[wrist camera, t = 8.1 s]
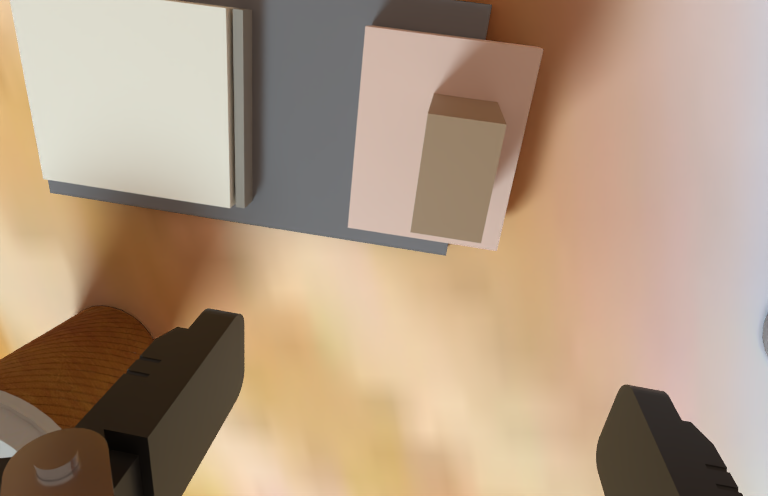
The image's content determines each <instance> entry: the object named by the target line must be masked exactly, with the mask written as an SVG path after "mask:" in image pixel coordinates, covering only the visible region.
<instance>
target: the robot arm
mask: <svg viewBox="0 0 768 496" xmlns="http://www.w3.org/2000/svg"><path fill="white" fill-rule="evenodd" d="M762 338H763V343H764V348H765V352H766V354H767V355H768V314H767V316H766V319H765V322H764V327H763V336H762ZM243 378H244V318H243V316H242V315H241V314H236V313H231V312H225V311H220V310H214V309H205V310H204V311H203V312H202V313H201V314H200V316H199V317H198V318H197V319H196V320H195V322H194V323H193V324H192V325H191V326H190V327H189V329H186V328H180V327H176V328H175V329H173V330H171V331H169V332H168V333H166V334H164V335H162V336H160V337H159V338H157V339H155V340H154V341H153V342H152V343H151V344H150V345H149V347H148V348H147V349H146V350H145V351H144V352H143V353H142V354H141V355H140V358H139V360H138V359H137V360H136V361H135V362H134V363H133V364H132V365H131V366H130V367H129V368H128V369H127V373H126V374H123V375H122V376H121V377H120V378H119V379H118V380H117V381H116V382H115V384H114V385H113V386H112V387H111V388H110V389H109V390H108V391H107V392H106V393H105V394H104V395H103V397H102V398H101V399H100V400H99V401H98V402H97V403H96V404H95V405H94V406H93V407H92V409H91V410H90V411H89V412H88V413H87V414H86V415H85V416H84V417H83V418H82V419H81V420H80V422H79V423H78V424H77V425H76V426H75V427H74V428H67V429H61V430H57V431H53V432H50V433H47V434H45V435H42V436H40V437H38V438H36V439H34V440H32V441H31V442H29V443H28V444H26V445H25V446H23V447H22V448H21V449H20V450H18V451H17V452H16V453H15V454H14V455H13V456H12V457H6V458H0V496H182V495H183V493H184V491H185V489H186V488H187V486H188V484H189V482H190V481H191V479H192V477H193V475H194V474H195V472H196V470H197V468H198V467H199V465H200V463H201V461H202V460H203V458H204V456H205V454H206V453H207V451H208V449H209V447H210V446H211V444H212V442H213V440H214V439H215V437H216V435H217V433H218V432H219V430H220V428H221V426H222V425H223V423H224V421H225V419H226V418H227V416H228V414H229V412H230V411H231V409H232V407H233V405H234V404H235V402H236V400H237V398H238V396H239V393H240V390H241V387H242V383H243ZM596 463H597V470H598V474H599V477H600V480H601V484H602V487H603V491H604V494H605V496H743V495H742V493H739V492H738V486H737V485H736V483H735V481H734V479H733V478H732V476H731V474H730V473H728V472H727V467H726V466H725V464H724V462H723V460H722V459H721V457H720V455H719V453H718V452H717V450H716V448H715V446H714V445H713V444H712V443H711V442H710V441H709V440H708V439H707V438H706V437H705V436H704V435H703V434H702V433H701V432H700V431H699V430H698V429H697V428H696V427H695V426H694V425H693V424H692V423H691V422H687V421H682V420H681V418H680V416H679V414H678V412H677V411H676V409H675V407H674V405H673V403H672V401H671V399H670V398H669V396H668V395H667V394H666V393H665V392H664V391H659V390H653V389H648V388H642V387H636V386H631V385H623V386H622V387H621V388H620V389H619V391H618V393H617V396H616V398H615V401H614V403H613V405H612V408H611V410H610V413H609V415H608V418H607V420H606V422H605V425H604V427H603V430H602V432H601V435H600V437H599V440H598V444H597V451H596Z"/></svg>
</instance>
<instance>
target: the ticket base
mask: <svg viewBox="0 0 768 496" xmlns="http://www.w3.org/2000/svg"><path fill="white" fill-rule="evenodd" d="M10 4H11V9H12V14H13V20H14V25H15V30H16V35H17V41H18V46H19V51H20V57H21V62H22V67H23V73H24V78H25V83H26V89H27V94H28V99H29V105H30V110H31V115H32V121H33V126H34V131H35V137H36V142H37V147H38V153H39V158H40V163H41V168H42V174H43V179H46V180H48V182H49V188H50V193H55V194H62V195H68V196H74V197H80V198H87V199H93V200H99V201H106V202H112V203H118V204H125V205H131V206H137V207H143V208H150V209H156V210H162V211H169V212H175V213H181V214H187V215H194V216H200V217H206V218H213V219H219V220H225V221H232V222H238V223H244V224H250V225H257V226H263V227H269V228H276V229H282V230H288V231H294V232H301V233H307V234H313V235H320V236H326V237H332V238H339V239H345V240H351V241H357V242H364V243H370V244H376V245H383V246H389V247H395V248H402V249H408V250H414V251H420V252H427V253H433V254H439V255H446V252H447V246H448V243H443V242H436V241H430V240H424V239H417V238H411V237H404V236H398V235H392V234H385V233H379V232H373V231H366V230H360V229H354V228H348V219H349V207H350V196H351V184H352V173H353V161H354V150H355V139H356V127H357V116H358V104H359V93H360V82H361V70H362V59H363V47H364V36H365V26H369V25H373V26H381V27H389V28H397V29H404V30H412V31H420V32H428V33H436V34H443V35H451V36H459V37H467V38H475V39H482V40H486V35H487V29H488V24H489V18H490V13H491V7H492V5H489V4H481V3H473V2H465V1H456V0H10Z"/></svg>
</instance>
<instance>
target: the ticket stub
mask: <svg viewBox="0 0 768 496" xmlns="http://www.w3.org/2000/svg"><path fill="white" fill-rule="evenodd" d="M543 50H544V49H542V48H540V47H537V46H529V45H521V44H514V43H506V42H498V41H490V40H482V39H475V38H467V37H459V36H451V35H443V34H436V33H428V32H420V31H412V30H404V29H397V28H389V27H381V26H373V25H369V26H365V36H364V47H363V59H362V70H361V82H360V93H359V104H358V116H357V127H356V139H355V150H354V161H353V173H352V184H351V196H350V207H349V219H348V228H354V229H360V230H366V231H373V232H379V233H385V234H392V235H398V236H404V237H411V238H417V239H424V240H430V241H436V242H443V243H449V244H455V245H462V246H468V247H475V248H481V249H487V250H494V251H497V248H498V244H499V239H500V235H501V231H502V226H503V222H504V218H505V213H506V209H507V205H508V200H509V196H510V192H511V187H512V183H513V179H514V175H515V170H516V166H517V162H518V157H519V153H520V149H521V144H522V140H523V136H524V131H525V127H526V123H527V119H528V114H529V110H530V106H531V101H532V97H533V93H534V88H535V84H536V80H537V75H538V71H539V67H540V62H541V58H542V54H543Z"/></svg>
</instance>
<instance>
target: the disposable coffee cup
mask: <svg viewBox="0 0 768 496" xmlns="http://www.w3.org/2000/svg"><path fill="white" fill-rule="evenodd" d="M152 342H153V340H152V337H151V336H150V334H149V333H148V331H147V330H146V328H145V327H144V326H143V325H142V324H141V323H140V322H139V321H137V320H136V319H135V318H134V317H132V316H130V315H129V314H127V313H125V312H123V311H121V310H118V309H116V308H112V307H107V306H93V307H90V308H87V309H85V310H83V311H82V312H80V313H78V314H77V315H75V316H73V317H71V318H70V319H68V320H67V321H65V322H63V323H62V324H60V325H58V326H57V327H55V328H53V329H52V330H50V331H48V332H46V333H45V334H43V335H41V336H40V337H38V338H36V339H34V340H33V341H31V342H30V343H28V344H26V345H24V346H23V347H21V348H19V349H17V350H16V351H14V352H13V353H11V354H9V355H7V356H6V357H4V358H3V359H1V360H0V458H6V457H12V456H13V455H14V454H15V453H16V452H17V451H18V450H20V449H21V448H22V447H23V446H25V445H26V444H28V443H29V442H31V441H32V440H34V439H36V438H38V437H40V436H42V435H45V434H47V433H50V432H53V431H57V430H61V429H67V428H74V427H75V426H76V425H77V424H78V423H79V422H80V420H81V419H82V418H83V417H84V416H85V415H86V414H87V413H88V412H89V411H90V410H91V409H92V407H93V406H94V405H95V404H96V403H97V402H98V401H99V400H100V399H101V398H102V397H103V395H104V394H105V393H106V392H107V391H108V390H109V389H110V388H111V387H112V386H113V385H114V384H115V382H116V381H117V380H118V379H119V378H120V377H121V376H122V375H123V374H126V373H127V369H128V368H129V367H130V366H131V365H132V364H133V363H134V362H135V361H136V360H137V359H138V360H139V358H140V355H141V354H142V353H143V352H144V351H145V350H146V349H147V348H148V347H149V345H150V344H151V343H152Z"/></svg>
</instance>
